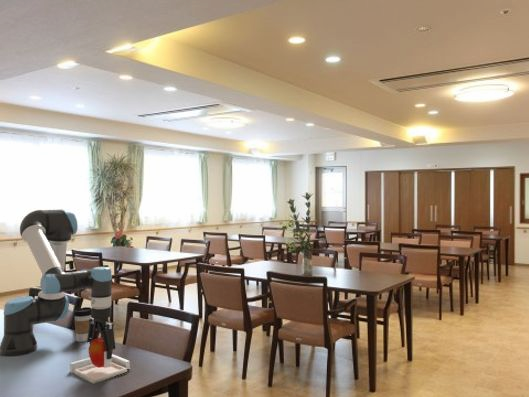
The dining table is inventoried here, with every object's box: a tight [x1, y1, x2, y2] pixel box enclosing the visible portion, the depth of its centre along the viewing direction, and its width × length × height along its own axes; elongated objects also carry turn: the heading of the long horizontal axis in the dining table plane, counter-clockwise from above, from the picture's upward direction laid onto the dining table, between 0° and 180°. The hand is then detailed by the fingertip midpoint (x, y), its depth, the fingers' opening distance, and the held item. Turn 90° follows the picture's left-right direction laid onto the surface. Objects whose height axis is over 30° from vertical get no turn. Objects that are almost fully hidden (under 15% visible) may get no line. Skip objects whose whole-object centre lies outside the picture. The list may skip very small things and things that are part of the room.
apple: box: [88, 336, 114, 368], centre depth 180 cm, size 9×9×12 cm
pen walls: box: [69, 353, 131, 374], centre depth 183 cm, size 16×17×4 cm
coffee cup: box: [73, 306, 92, 343], centre depth 223 cm, size 8×8×15 cm
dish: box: [73, 362, 128, 384], centre depth 180 cm, size 14×14×2 cm
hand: (100, 363), depth 180 cm, fingers closed on apple, 9 cm apart
